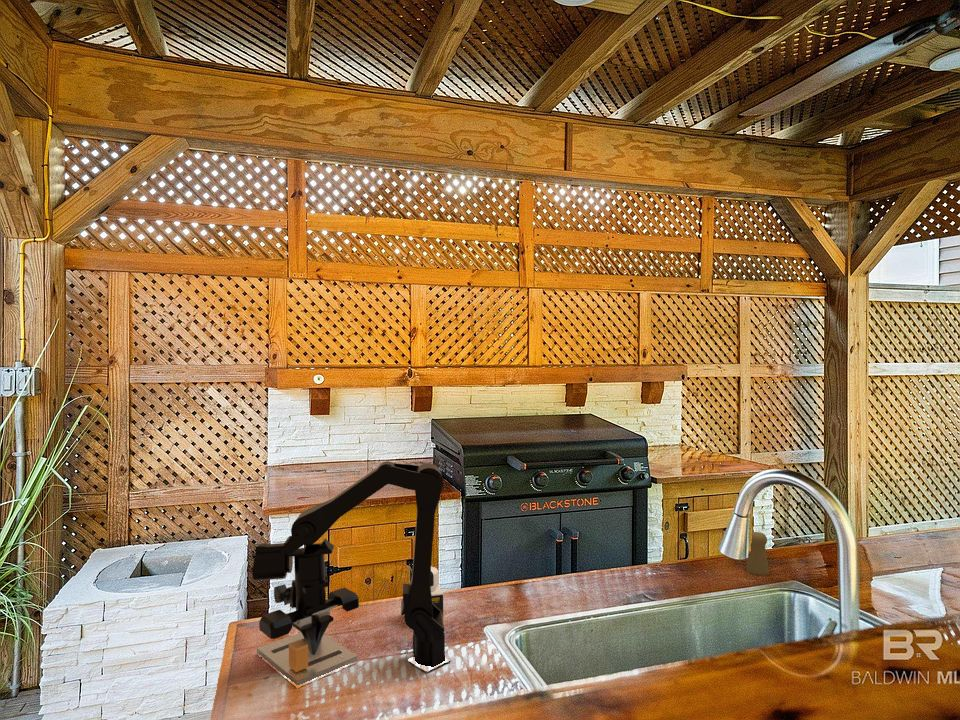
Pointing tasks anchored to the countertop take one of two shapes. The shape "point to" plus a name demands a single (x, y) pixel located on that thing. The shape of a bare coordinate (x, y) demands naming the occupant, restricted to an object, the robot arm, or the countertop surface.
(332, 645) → the console
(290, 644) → the orange fader
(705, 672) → the countertop surface
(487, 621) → the countertop surface
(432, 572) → the medicine bottle
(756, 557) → the brown tall tapered piece
